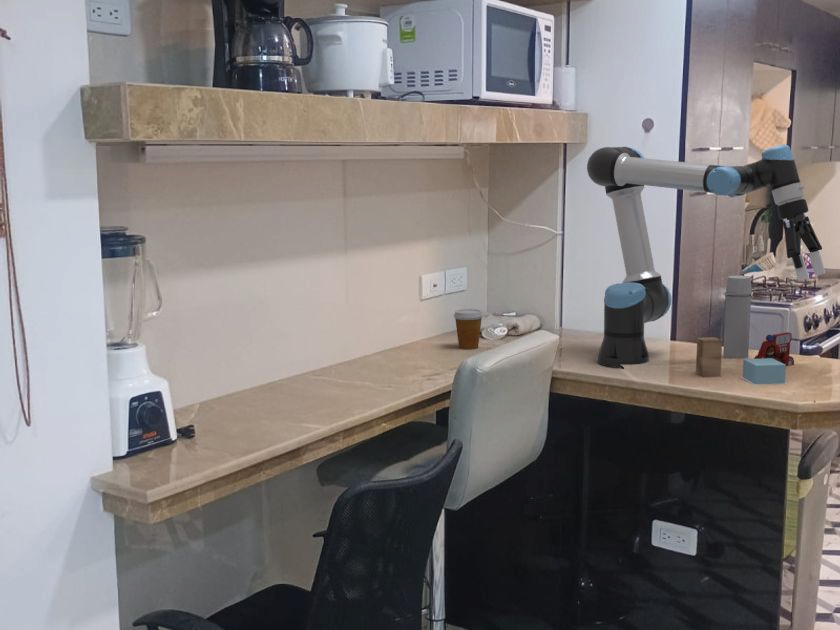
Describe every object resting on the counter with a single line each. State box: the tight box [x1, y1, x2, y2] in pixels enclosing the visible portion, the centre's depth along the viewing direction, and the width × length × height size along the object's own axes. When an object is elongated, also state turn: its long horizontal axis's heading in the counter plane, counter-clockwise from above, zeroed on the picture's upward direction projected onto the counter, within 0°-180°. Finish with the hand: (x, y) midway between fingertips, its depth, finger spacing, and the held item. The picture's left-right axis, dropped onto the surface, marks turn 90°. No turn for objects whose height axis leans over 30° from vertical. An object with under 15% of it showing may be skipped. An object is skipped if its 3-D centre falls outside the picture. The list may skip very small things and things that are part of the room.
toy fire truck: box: [753, 331, 795, 367], centre depth 260 cm, size 7×12×10 cm, turn 118°
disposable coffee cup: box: [453, 308, 484, 350], centre depth 296 cm, size 10×10×12 cm
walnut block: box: [695, 336, 723, 378], centre depth 249 cm, size 5×5×10 cm
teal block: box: [742, 358, 787, 385], centre depth 242 cm, size 8×8×5 cm
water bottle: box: [719, 275, 752, 359], centre depth 272 cm, size 9×8×25 cm
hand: (812, 277), depth 245 cm, fingers open, 13 cm apart
